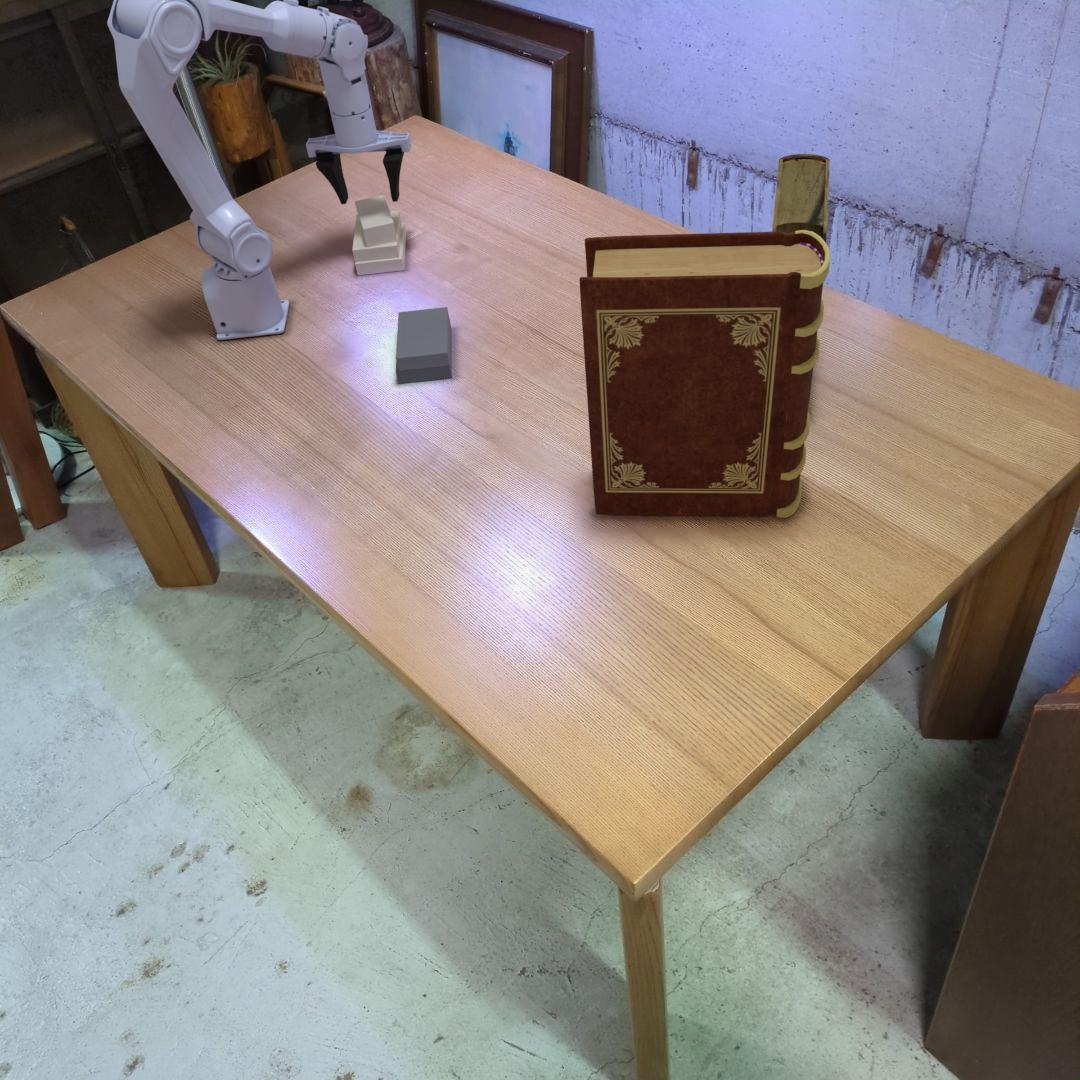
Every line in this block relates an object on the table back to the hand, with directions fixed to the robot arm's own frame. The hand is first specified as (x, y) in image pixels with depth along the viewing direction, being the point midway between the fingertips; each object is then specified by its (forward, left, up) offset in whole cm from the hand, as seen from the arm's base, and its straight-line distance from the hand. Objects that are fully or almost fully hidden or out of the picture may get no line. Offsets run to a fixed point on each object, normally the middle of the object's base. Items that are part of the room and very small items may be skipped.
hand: (370, 199), depth 155 cm
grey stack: (+7, -28, -9) cm, 30 cm away
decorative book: (+38, -60, -9) cm, 72 cm away
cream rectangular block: (0, 0, -5) cm, 5 cm away
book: (+52, -41, -9) cm, 67 cm away
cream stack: (0, 0, -9) cm, 9 cm away
